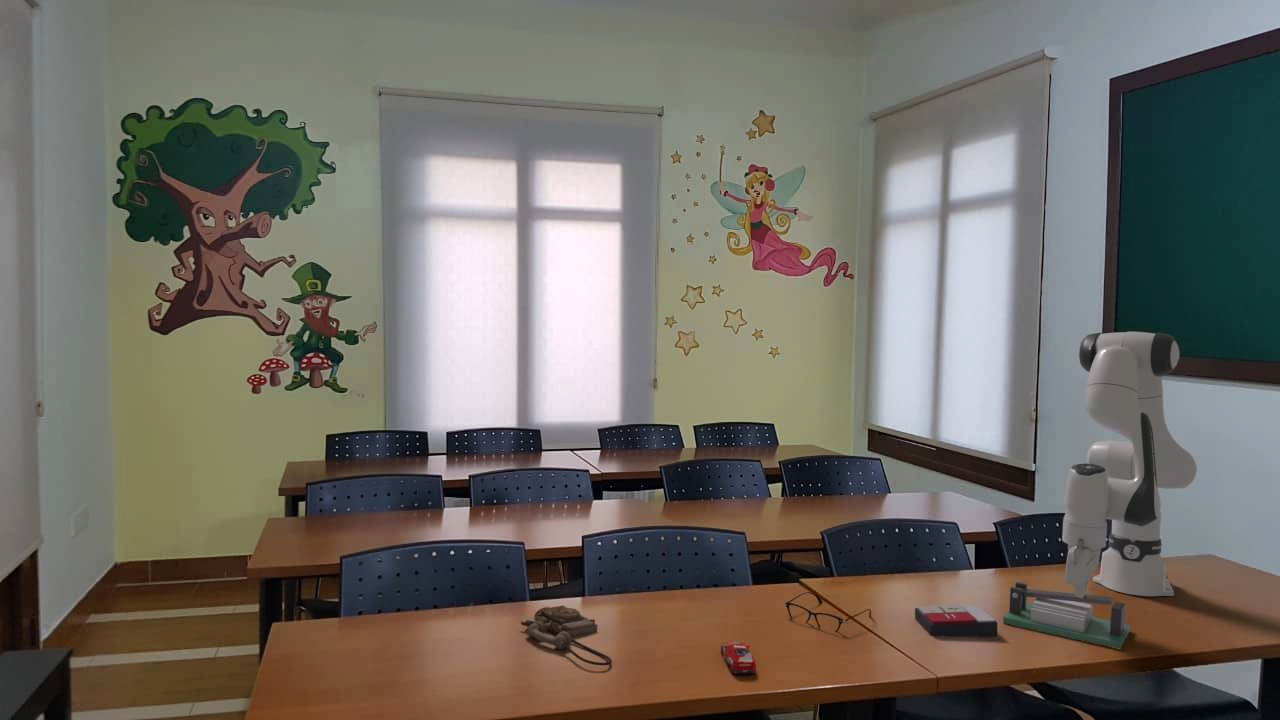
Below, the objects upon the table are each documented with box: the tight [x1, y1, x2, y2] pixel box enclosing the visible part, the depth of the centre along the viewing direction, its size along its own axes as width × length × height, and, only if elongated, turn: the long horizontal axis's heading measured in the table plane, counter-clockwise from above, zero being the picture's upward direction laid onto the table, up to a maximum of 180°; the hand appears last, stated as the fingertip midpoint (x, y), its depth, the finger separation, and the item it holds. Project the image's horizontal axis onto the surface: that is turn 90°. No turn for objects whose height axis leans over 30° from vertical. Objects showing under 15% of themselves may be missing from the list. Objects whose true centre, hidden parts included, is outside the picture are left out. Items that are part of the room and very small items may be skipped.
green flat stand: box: [1002, 581, 1131, 649], centre depth 195 cm, size 14×24×8 cm, turn 53°
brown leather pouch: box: [520, 605, 613, 666], centre depth 181 cm, size 15×33×4 cm, turn 38°
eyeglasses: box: [784, 591, 872, 633], centre depth 199 cm, size 16×16×4 cm
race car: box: [720, 641, 757, 675], centre depth 171 cm, size 13×5×4 cm, turn 5°
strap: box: [1022, 588, 1114, 606], centre depth 196 cm, size 3×20×1 cm, turn 53°
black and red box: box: [914, 604, 998, 638], centre depth 194 cm, size 11×4×15 cm
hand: (1080, 596), depth 193 cm, fingers closed, pressing on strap
